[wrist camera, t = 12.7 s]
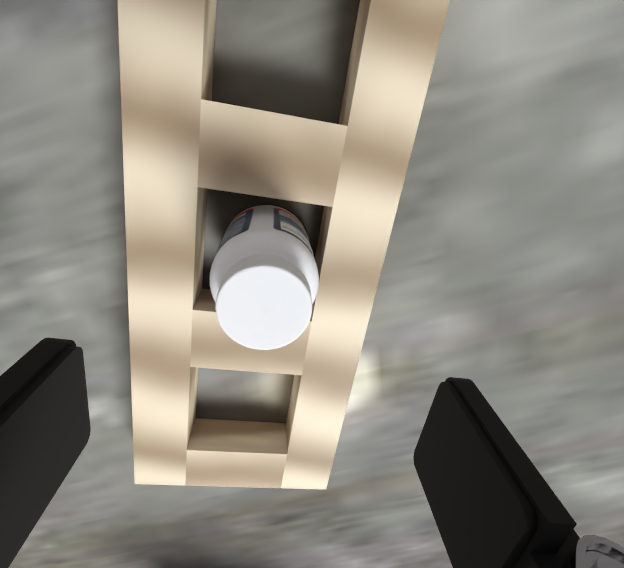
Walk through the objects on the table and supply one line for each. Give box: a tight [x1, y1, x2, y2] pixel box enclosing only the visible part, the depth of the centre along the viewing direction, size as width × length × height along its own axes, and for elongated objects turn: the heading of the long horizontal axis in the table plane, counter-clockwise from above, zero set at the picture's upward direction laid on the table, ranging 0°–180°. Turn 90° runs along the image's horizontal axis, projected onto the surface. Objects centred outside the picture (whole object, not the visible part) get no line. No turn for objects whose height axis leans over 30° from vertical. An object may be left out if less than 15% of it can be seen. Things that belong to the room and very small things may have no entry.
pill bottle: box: [210, 205, 319, 350], centre depth 19 cm, size 5×5×9 cm
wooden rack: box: [118, 0, 450, 489], centre depth 21 cm, size 36×14×3 cm, turn 171°
